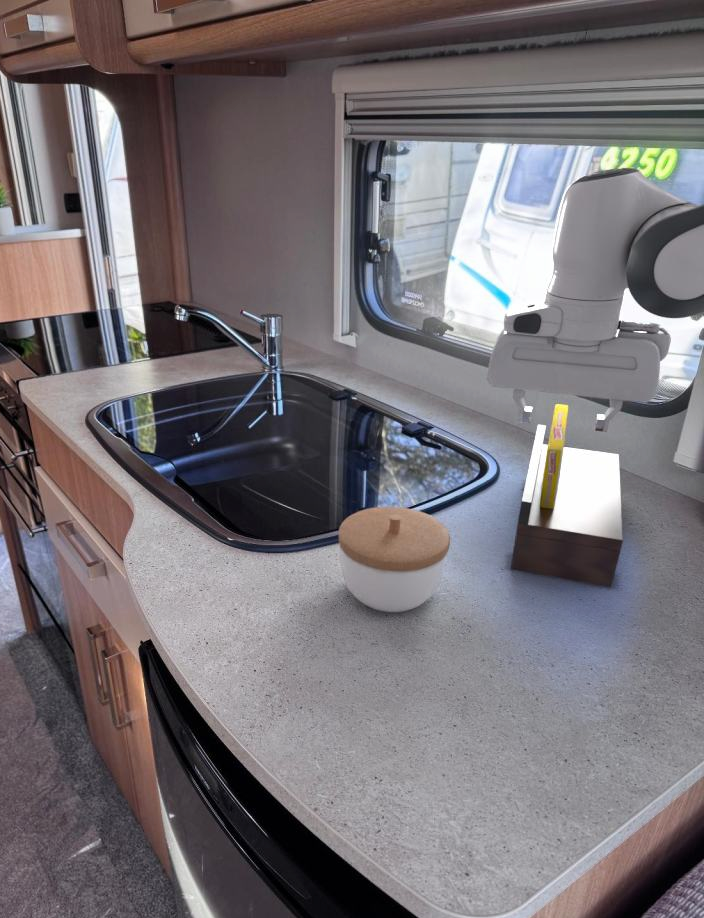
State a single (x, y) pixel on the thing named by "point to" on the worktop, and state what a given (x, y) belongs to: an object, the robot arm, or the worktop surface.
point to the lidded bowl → (392, 557)
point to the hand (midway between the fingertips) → (561, 425)
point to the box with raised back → (571, 517)
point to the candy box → (554, 457)
